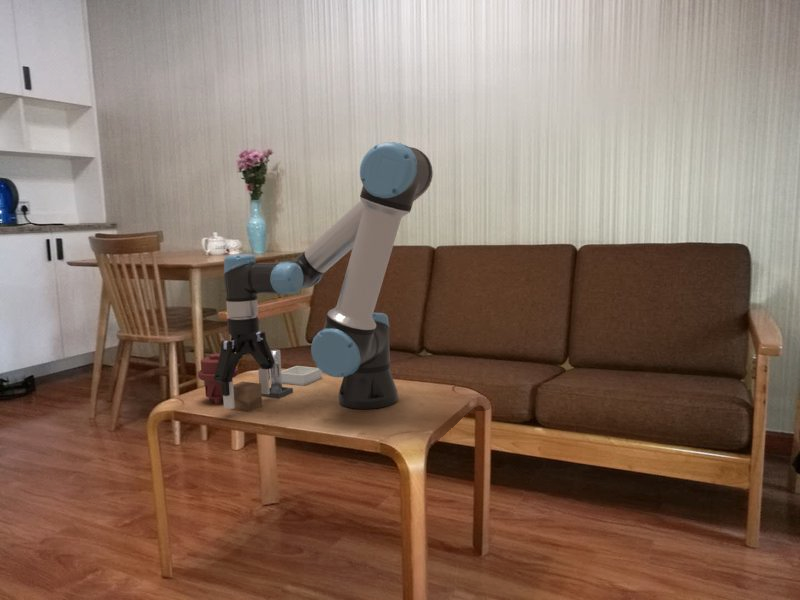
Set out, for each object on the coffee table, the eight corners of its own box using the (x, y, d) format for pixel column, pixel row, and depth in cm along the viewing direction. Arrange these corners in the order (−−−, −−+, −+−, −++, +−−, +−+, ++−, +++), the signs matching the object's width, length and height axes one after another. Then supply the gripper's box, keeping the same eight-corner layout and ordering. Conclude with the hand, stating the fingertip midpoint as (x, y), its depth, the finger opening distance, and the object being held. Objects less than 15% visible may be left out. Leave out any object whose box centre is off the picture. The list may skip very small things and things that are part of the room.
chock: (262, 406, 159) (261, 383, 158) (249, 412, 154) (247, 388, 153) (243, 404, 161) (242, 381, 161) (230, 409, 157) (229, 386, 156)
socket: (293, 392, 171) (292, 388, 171) (279, 398, 165) (278, 393, 165) (274, 390, 174) (274, 385, 174) (260, 395, 168) (260, 391, 168)
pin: (284, 393, 170) (282, 350, 169) (277, 396, 168) (275, 352, 166) (275, 392, 172) (273, 349, 170) (268, 395, 169) (266, 351, 167)
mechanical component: (220, 408, 158) (191, 403, 163) (247, 397, 167) (219, 393, 172) (217, 360, 157) (188, 357, 161) (244, 352, 165) (216, 349, 170)
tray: (322, 378, 186) (321, 368, 185) (304, 385, 177) (303, 375, 177) (296, 375, 190) (296, 365, 189) (278, 382, 182) (277, 372, 181)
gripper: (262, 309, 167) (266, 386, 170) (194, 324, 145) (200, 412, 148) (285, 310, 164) (289, 389, 167) (219, 325, 142) (224, 416, 145)
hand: (247, 400), depth 157 cm, fingers open, 13 cm apart
